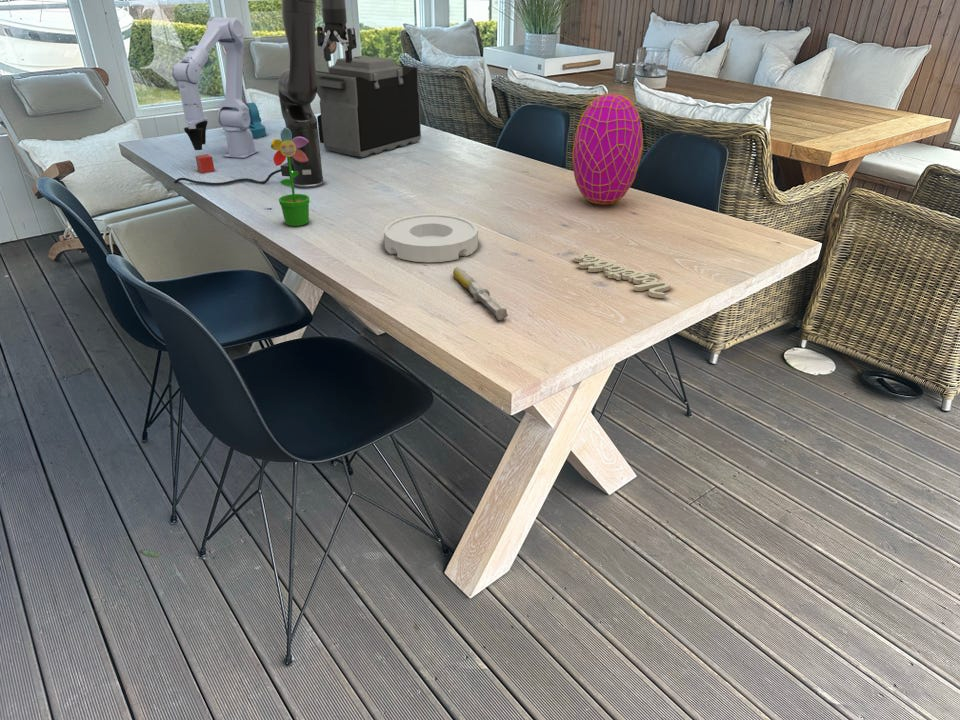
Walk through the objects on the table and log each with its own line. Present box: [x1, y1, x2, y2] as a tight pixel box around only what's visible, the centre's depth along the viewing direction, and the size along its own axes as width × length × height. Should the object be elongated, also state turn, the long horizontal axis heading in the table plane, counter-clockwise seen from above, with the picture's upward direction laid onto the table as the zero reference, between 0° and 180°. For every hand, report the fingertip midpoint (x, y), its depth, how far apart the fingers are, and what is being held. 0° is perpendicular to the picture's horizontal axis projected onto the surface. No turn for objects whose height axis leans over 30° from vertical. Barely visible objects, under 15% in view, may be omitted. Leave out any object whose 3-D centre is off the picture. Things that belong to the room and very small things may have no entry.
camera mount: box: [232, 102, 267, 139], centre depth 271 cm, size 18×10×10 cm, turn 35°
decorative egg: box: [571, 92, 644, 205], centre depth 194 cm, size 19×19×30 cm
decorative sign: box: [574, 252, 671, 299], centre depth 155 cm, size 26×1×10 cm
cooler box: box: [316, 55, 422, 159], centre depth 250 cm, size 37×22×30 cm, turn 144°
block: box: [194, 153, 215, 174], centre depth 225 cm, size 4×4×5 cm
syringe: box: [452, 266, 509, 321], centre depth 145 cm, size 25×4×3 cm, turn 21°
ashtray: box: [383, 213, 479, 263], centre depth 170 cm, size 23×23×4 cm
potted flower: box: [270, 127, 310, 227], centre depth 177 cm, size 9×8×25 cm
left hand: (200, 147), depth 225 cm, fingers open, 7 cm apart
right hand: (338, 61), depth 227 cm, fingers open, 8 cm apart
